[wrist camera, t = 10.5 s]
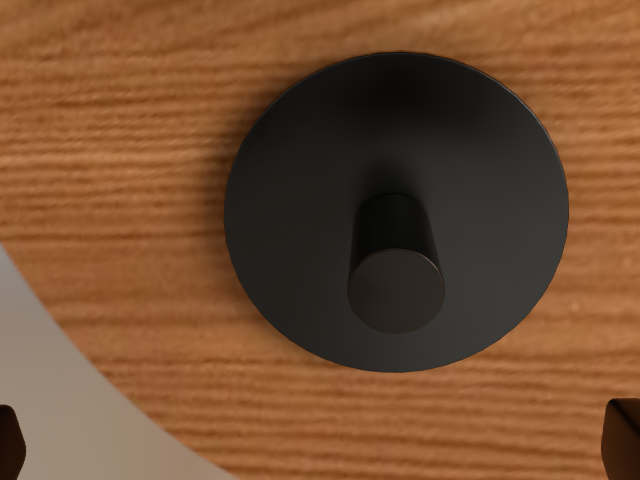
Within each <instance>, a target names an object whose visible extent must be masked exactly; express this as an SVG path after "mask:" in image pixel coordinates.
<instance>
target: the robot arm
mask: <svg viewBox="0 0 640 480" xmlns="http://www.w3.org/2000/svg"><path fill="white" fill-rule="evenodd" d="M601 454H602V459H603V463H604V466H605V470H606V473H607V476H608V479H609V480H640V399H638V398H614V399H611V400H610V401H608V403H607V406H606V411H605V418H604V426H603V433H602V441H601ZM25 457H26V445H25V441H24V438H23V435H22V433H21V429H20V427H19V423H18V420H17V417H16V414H15V412H14V410H13V409H12V407H10V406H8V405H0V480H17V477H18V475H19V473H20V471H21V468H22V466H23V464H24V461H25Z"/></svg>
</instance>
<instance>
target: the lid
mask: <svg viewBox="0 0 640 480" xmlns="http://www.w3.org/2000/svg"><path fill="white" fill-rule="evenodd" d="M568 220H569V200H568V189H567V184H566V178H565V173H564V170H563V167H562V164H561V161H560V158H559V155H558V152H557V150H556V148H555V146H554V144H553V142H552V140H551V138H550V136H549V134H548V132H547V130H546V129H545V128H544V126H543V125H542V124H541V122H540V121H539V119H538V118H537V117H536V115H535V114H534V112H533V111H532V110H531V109H530V108H529V107H528V106H527V105H526V104H525V103H524V102H523V101H522V100H521V99H520V98H519V97H518V96H517V95H516V94H515V93H513V92H512V91H511V90H509V89H508V88H507V87H506V86H504V85H503V84H502V83H500V82H499V81H498V80H496V79H495V78H493V77H491V76H490V75H488V74H486V73H484V72H482V71H481V70H479V69H477V68H475V67H473V66H471V65H468V64H465V63H463V62H460V61H458V60H455V59H452V58H449V57H445V56H440V55H436V54H432V53H427V52H417V51H406V50H395V51H377V52H371V53H366V54H361V55H355V56H351V57H348V58H345V59H342V60H339V61H336V62H333V63H330V64H328V65H326V66H324V67H322V68H320V69H318V70H316V71H314V72H312V73H310V74H308V75H306V76H305V77H303V78H302V79H300V80H299V81H297V82H296V83H294V84H293V85H291V86H290V87H289V88H287V89H286V90H285V91H284V92H283V93H282V94H281V95H279V96H278V97H277V98H276V99H275V100H274V101H273V102H272V103H271V104H270V105H269V106H268V107H267V108H266V109H265V111H264V112H263V113H262V114H261V115H260V116H259V118H258V119H257V120H256V121H255V122H254V124H253V125H252V127H251V129H250V130H249V132H248V133H247V135H246V136H245V138H244V140H243V141H242V143H241V146H240V148H239V150H238V152H237V154H236V156H235V159H234V161H233V164H232V167H231V171H230V174H229V177H228V181H227V187H226V193H225V200H224V227H225V235H226V243H227V247H228V251H229V254H230V258H231V262H232V264H233V267H234V269H235V272H236V274H237V277H238V279H239V281H240V283H241V285H242V286H243V288H244V290H245V292H246V293H247V295H248V297H249V298H250V300H251V301H252V302H253V304H254V305H255V306H256V308H257V309H258V310H259V312H260V313H261V314H262V315H263V316H264V317H265V318H266V319H267V320H268V321H269V322H270V323H271V324H272V325H273V327H274V328H276V329H277V330H278V331H279V332H281V333H282V334H283V335H284V336H286V337H287V338H288V339H289V340H291V341H292V342H294V343H295V344H297V345H299V346H300V347H302V348H303V349H305V350H306V351H309V352H311V353H313V354H315V355H317V356H319V357H321V358H323V359H325V360H328V361H331V362H334V363H337V364H340V365H343V366H347V367H351V368H356V369H360V370H366V371H374V372H391V373H404V372H413V371H423V370H428V369H432V368H437V367H441V366H445V365H448V364H451V363H454V362H457V361H460V360H463V359H465V358H467V357H469V356H471V355H474V354H476V353H478V352H480V351H482V350H484V349H485V348H487V347H488V346H490V345H492V344H493V343H495V342H497V341H498V340H500V339H501V338H502V337H503V336H505V335H506V334H507V333H508V332H510V331H511V330H512V329H513V328H515V327H516V326H517V325H518V324H519V323H520V322H521V321H522V320H523V319H524V318H525V317H526V316H527V315H528V314H529V313H530V311H531V310H532V309H533V307H534V306H535V305H536V304H537V302H538V301H539V300H540V298H541V297H542V296H543V294H544V292H545V291H546V289H547V287H548V285H549V284H550V282H551V280H552V278H553V276H554V274H555V272H556V269H557V267H558V264H559V262H560V259H561V257H562V253H563V249H564V245H565V241H566V237H567V229H568Z"/></svg>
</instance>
